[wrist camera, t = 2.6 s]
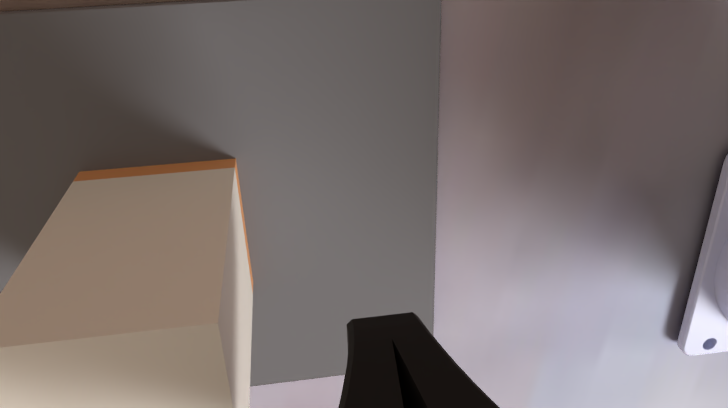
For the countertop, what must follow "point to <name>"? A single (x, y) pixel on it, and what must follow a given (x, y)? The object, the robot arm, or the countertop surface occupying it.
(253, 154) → the mat
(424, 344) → the robot arm
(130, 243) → the tall block
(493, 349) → the countertop surface
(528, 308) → the countertop surface
